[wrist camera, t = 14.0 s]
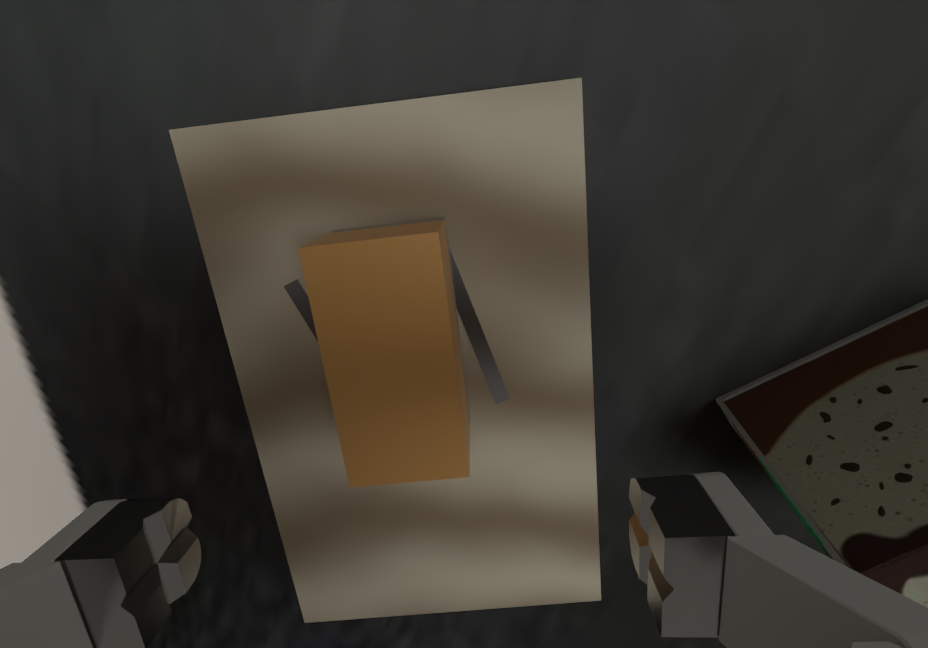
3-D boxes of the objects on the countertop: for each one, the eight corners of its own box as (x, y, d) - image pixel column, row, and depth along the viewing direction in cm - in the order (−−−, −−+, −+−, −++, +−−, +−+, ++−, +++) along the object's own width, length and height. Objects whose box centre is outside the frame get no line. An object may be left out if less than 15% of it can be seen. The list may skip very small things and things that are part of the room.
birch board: (593, 574, 24) (601, 601, 23) (314, 596, 25) (304, 623, 23) (572, 84, 18) (581, 77, 16) (192, 132, 18) (168, 129, 17)
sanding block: (470, 417, 20) (469, 477, 16) (372, 426, 20) (349, 487, 16) (445, 217, 18) (438, 232, 14) (335, 230, 18) (297, 248, 14)
